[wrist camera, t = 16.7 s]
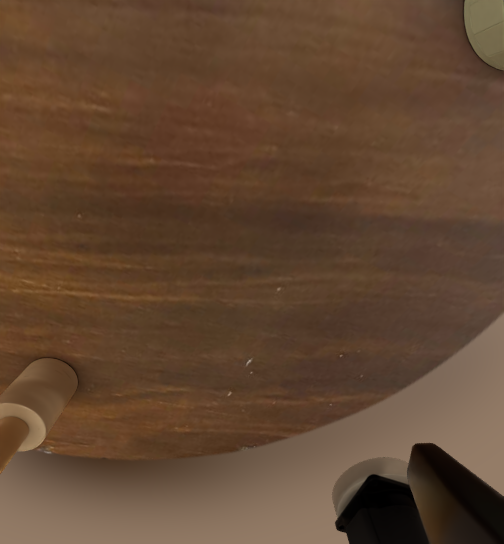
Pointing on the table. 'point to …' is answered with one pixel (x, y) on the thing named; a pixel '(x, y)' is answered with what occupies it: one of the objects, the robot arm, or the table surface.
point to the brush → (33, 405)
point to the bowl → (486, 29)
